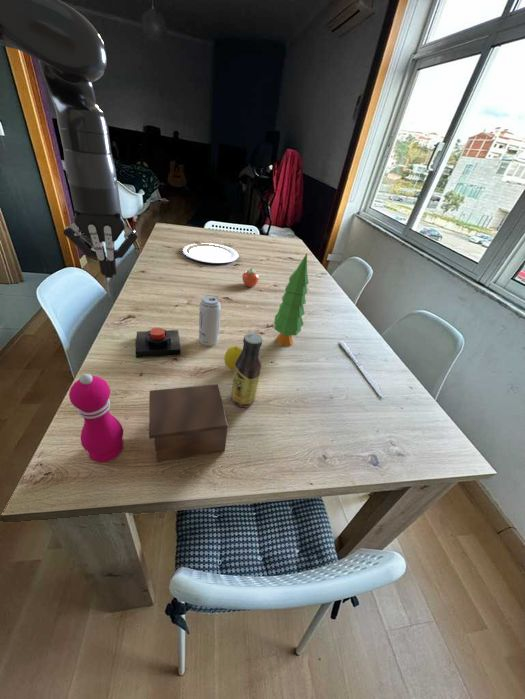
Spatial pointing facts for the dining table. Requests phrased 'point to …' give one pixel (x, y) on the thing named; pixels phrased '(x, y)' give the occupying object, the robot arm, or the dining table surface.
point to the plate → (211, 253)
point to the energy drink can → (209, 320)
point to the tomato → (250, 278)
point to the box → (190, 444)
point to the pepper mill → (97, 418)
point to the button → (157, 333)
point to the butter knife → (362, 369)
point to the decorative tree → (292, 305)
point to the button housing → (157, 344)
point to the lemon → (232, 356)
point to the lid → (185, 411)
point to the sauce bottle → (247, 371)
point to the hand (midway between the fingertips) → (109, 276)
